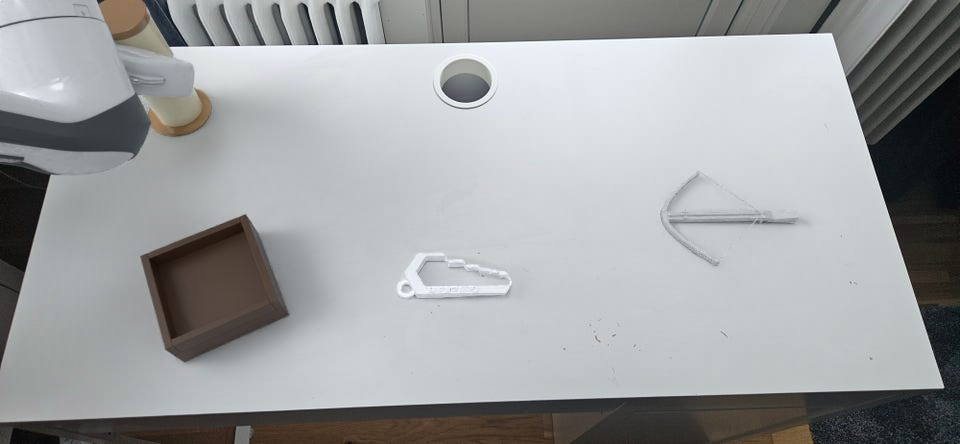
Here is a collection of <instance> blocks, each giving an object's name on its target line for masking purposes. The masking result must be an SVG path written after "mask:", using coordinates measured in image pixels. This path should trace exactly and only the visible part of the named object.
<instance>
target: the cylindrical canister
mask: <svg viewBox="0 0 960 444" xmlns="http://www.w3.org/2000/svg"><path fill="white" fill-rule="evenodd" d="M98 5H99V7H100V10H101V12H102V15H103V17H104V20H105V22H106V24H107V25H108V28H109V30H110V33H111V35H112V37H113V40H114V42H115V43H118V44H123V45H129V46H134V47H138V48H141V49H145V50H148V51H151V52H155V53H158V54H162V55H165V56H169V57H172V58H176V56H175V54H174V52H173V51H172V49H171V47H170V45H169V44H168V42H167V40H166V39H165V37H164V35H163V34H162V32H161V30H160V28H159V27H158V26H157V24H156V22H155V20H154V18H153V17H152V14H151V12H150V10H149V8H148V6H147V5H146V3H145V2H144V1H143V0H103V1H101V2H100V3H98ZM176 59H177V58H176ZM194 88H195V87H193V90H192V93H191V94H190V95H189V96H185V97H156V96H143V95H140V96H141V97H142V98H143V100H144V102H145V103H146V104H147V105H148V107H149V108H151V109H152V111H153V112H154V114H155V115H156V116H157V118H158V119H159V121H160V122H161V123H163V124H164V125H166V126H170V127H180V126H184V125H187V124H189V123H191V122H193V121H194V120H195V119H196V118H197V117H198V116H199V115H200V113H201V111H202V101H201V99H200V98H199V96H198V94H197V93H196V91H195V89H196V88H195V89H194Z"/></svg>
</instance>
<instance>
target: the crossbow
mask: <svg viewBox="0 0 960 444" xmlns="http://www.w3.org/2000/svg"><path fill="white" fill-rule="evenodd" d="M700 174H702V176H704V177H706V178H707V179H708V180H710V181H712V182H713V183H715V184H716V185H718V186H719V187H721V188H722V189H724V191H727V192H728V193H730V194H731V195H732V196H734V197H736V198H737V199H739V200H740V201H742V202H743V203H745V204H746V205H748V206H749V207H750V208H752V209H734V210H733V209H732V210H731V209H730V210H729V209H728V210H727V209H726V210H687V209H681V210H680V211H679V210H676V211H675V210H673V211H672V210H671V211H669V210H668V207H669V204H670V203H671V202H672V201H673V199H675V197H676V196H677V195H678V194H679V193H680V192H681V191H682V190H683V189H684V188H685V187H686V186H687V185H689V184H690V183H691V182H692V181H694V180H695V179H696V178H698V177H699V175H700ZM667 210H668V211H667ZM660 219H661V225H663V227H664V228H665V229H666V230H667V232H668V233H669V234H670V235H671V236H672V237H674V238H675V239H676V240H677V241H678V242H680V243H681V244H682V245H684V246H685V247H686V248H688V249H689V250H690V251H691V252H693V253H695V254H696V255H698V256H699V257H701V258H703V259H704V260H706V261H708V262H710V263H711V264H712V265H713V266H718V265H720V263H721V260H722V259H723V258H724V257H725V255H726V254H727V253H728V252H729V251H730V250H731V249H732V248H733V247H734V246H735V244H736V243H737V242H738V241H739V240H740V239H741V238H742V237H743V236H744V235H745V234H746V232H748V230H749V229H751V227H752V226H753V225H754V224H755V223H756V222H758V224H759V225H762V223H763V222H769V223H786V224H787V223H789V224H795V222H796V221H797V220H798V219H799V214H798V211H797V209H785V210H768V209H757V208H755V207H754V206H752V205H751V204H749V203H748V202H746V201H745V200H743V199H742V198H740V197H739V196H737V195H736V194H735V193H733V192H731V191H730V190H728V188H726V187H724V186H723V185H721V184H720V183H718V182H716V181H715V180H713V179H712V178H711V177H709V176H708V175H706V174H705V173H703V172H702V171H701V170H697V171H695V173H693V174H692V175H691V176H689V177H688V178H687V179H686V180H684V181H683V182H682V183H681V184H680V185H679V186H678V187H677V188H676V189H675V190H674V191H673V192H672V193H671V194H670V195H669V197H668V198H667V200H665V202H664V205H663V207H662V209H661V211H660ZM704 222H707V223H708V222H709V223H710V222H713V223H714V222H752V223H751V225H749V227H748V228H746V230H745V231H744V232H743V233H742V234H741V235H740V236H739V237H738V239H737V240H735V242H734V243H733V244H732V245H731V246H730V247H729V248H728V249H727V251H726V252H725V253H724V254H722V256H721V257H720V258H719V259H717V258H715V257H714V256H712V255H710V254H708V253H706V252H705V251H703V250H702V249H700V248H699V247H697V246H696V245H694V244H693V243H692V242H690V241H689V240H687V238H685V237H684V236H683V235H682V234H681V233H679V232H678V231H677V230H676V229H675V228H674V227H673V225H672V224H671V223H704Z"/></svg>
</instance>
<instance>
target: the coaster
mask: <svg viewBox="0 0 960 444" xmlns="http://www.w3.org/2000/svg"><path fill="white" fill-rule="evenodd" d="M193 88H194V89H195V91H196V93H197V94H198V96H199V98H200V99H201V101H202V111H201V113H200V115H199V116H198V117H197V118H196V119H195V120H194V121H193V122H191V123H189V124H187V125H184V126H180V127H170V126H166V125H164V124H163V123H161V122H160V121H159V119H158V118H157V116H156V115H155V114H154V112H153V111H152V109H151V108H150V107H149V109H148V111H147V114H148V116H149V118H150V120H151V125H150V127H151V128H152V129H153V130H154V131H155V132H156V133H158V134H160V135H162V136H167V137H181V136H185V135H189V134H191V133H193V132H195V131H196V130H198V129H200V128H201V127H202V126H203V125H204V124H205V123H206V122H207V121H208V119H209V117H210V115H211V111H212V103H211V100H210V99H209V97H208V96H207V94H206V93H205V92H204V91H202V90H200V89H197V88H195V87H193Z"/></svg>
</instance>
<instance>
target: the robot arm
mask: <svg viewBox="0 0 960 444" xmlns="http://www.w3.org/2000/svg"><path fill="white" fill-rule="evenodd" d="M98 4H99V3H98V0H0V164H1V165H8V166H16V167H21V168H25V169H28V170H31V171H35V172H37V173H41V174H44V175H49V176H50V175H51V176H72V177H73V176H87V175H93V174H98V173H103V172H106V171H109V170H112V169H115V168H117V167H119V166H122V165H123V164H126V162H129V161H131V160H133V159H135V158H136V157H137V156H138V154H139V153H140V151H141V149H142V147H143V145H144V143H145V142H146V139H147V136H148V133H149V131H150V127H151V120H150V118H149V116H148V111H147V110H146V108H145V106H144V104H143V102H142V100H141V99H140V97H139V96H141V95H143V96H156V97H185V96H189V95H190V94H191V93H192V90H193V88H194V84H195V76H196V75H195V66H194V65H193V63H191V62H190V61H185V60H183V59H179V58H172V57H169V56H165V55H162V54H158V53H155V52H151V51H148V50H145V49H141V48H138V47H134V46H129V45H123V44H118V43H115V42H114V40H113V37H112V35H111V33H110V30H109V28H108V25H107V24H106V22H105V20H104V17H103V15H102V12H101V10H100V7H99V5H98Z"/></svg>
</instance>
